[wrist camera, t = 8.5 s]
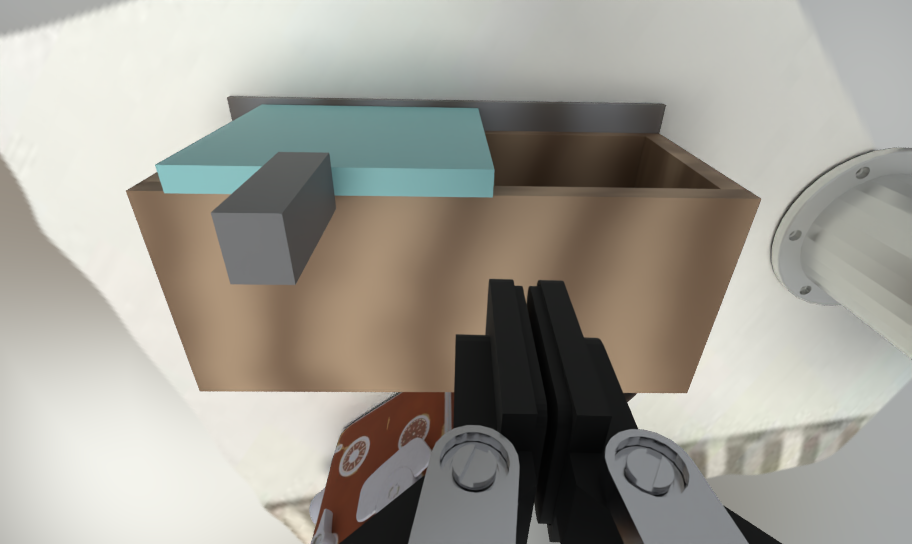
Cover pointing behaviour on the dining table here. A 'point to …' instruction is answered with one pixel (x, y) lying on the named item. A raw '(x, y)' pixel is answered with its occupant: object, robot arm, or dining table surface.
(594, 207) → the cabinet
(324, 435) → the dining table surface
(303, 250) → the door
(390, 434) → the cine camera
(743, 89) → the dining table surface
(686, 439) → the dining table surface
